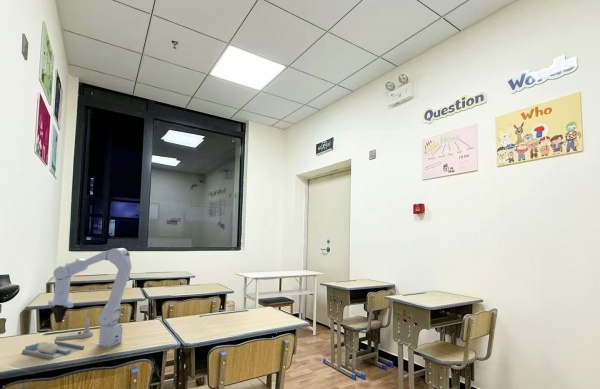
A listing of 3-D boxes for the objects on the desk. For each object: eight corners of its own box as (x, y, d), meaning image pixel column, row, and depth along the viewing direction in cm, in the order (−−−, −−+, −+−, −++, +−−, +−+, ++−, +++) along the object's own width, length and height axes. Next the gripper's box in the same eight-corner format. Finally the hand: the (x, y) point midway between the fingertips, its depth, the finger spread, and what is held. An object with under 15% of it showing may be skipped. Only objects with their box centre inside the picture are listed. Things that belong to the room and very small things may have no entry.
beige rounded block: (55, 354, 139) (59, 344, 141) (46, 354, 136) (50, 343, 137) (44, 352, 142) (48, 341, 143) (35, 352, 138) (39, 341, 140)
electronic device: (58, 319, 161) (94, 315, 168) (56, 340, 160) (93, 335, 167) (56, 321, 156) (93, 317, 163) (54, 343, 155) (92, 338, 162)
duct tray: (83, 349, 145) (84, 342, 146) (50, 360, 132) (51, 353, 133) (56, 344, 152) (57, 337, 152) (21, 354, 139) (22, 347, 139)
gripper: (80, 291, 156) (78, 321, 154) (60, 289, 161) (57, 318, 159) (65, 294, 149) (62, 325, 148) (44, 291, 155) (41, 322, 153)
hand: (58, 322), depth 153 cm, fingers closed
